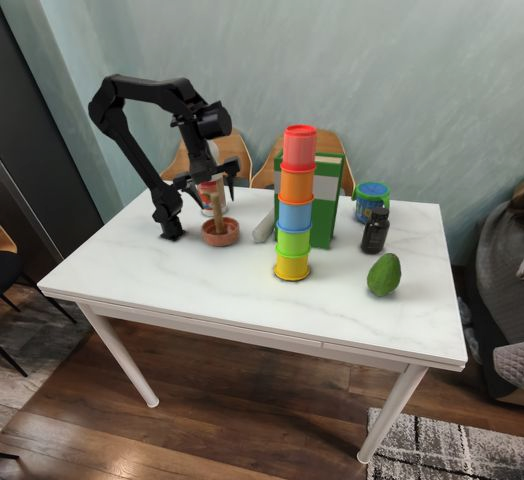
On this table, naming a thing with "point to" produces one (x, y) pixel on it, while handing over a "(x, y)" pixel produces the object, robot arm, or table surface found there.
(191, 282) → the table surface
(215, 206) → the muddler
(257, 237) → the tube
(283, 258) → the stacking cups
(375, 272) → the avocado
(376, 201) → the snack cup
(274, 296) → the table surface
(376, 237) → the supplement bottle
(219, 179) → the fruit juice
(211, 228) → the bowl
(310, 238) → the hardback book
